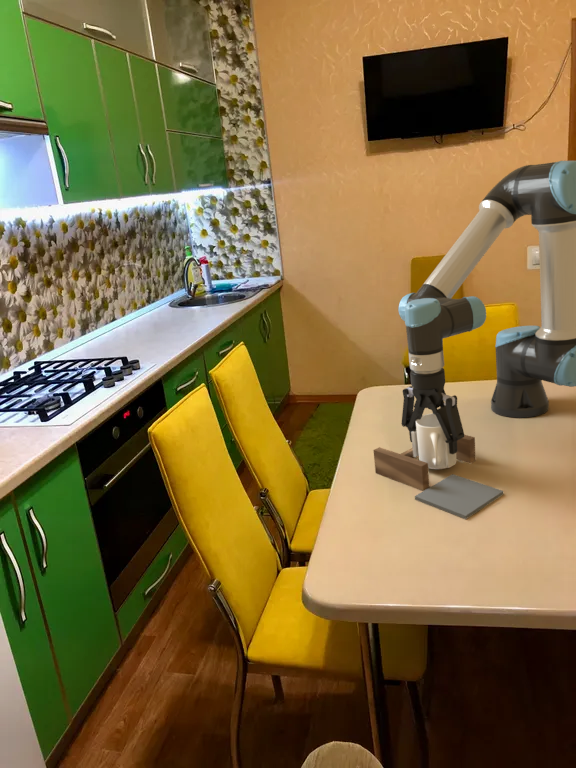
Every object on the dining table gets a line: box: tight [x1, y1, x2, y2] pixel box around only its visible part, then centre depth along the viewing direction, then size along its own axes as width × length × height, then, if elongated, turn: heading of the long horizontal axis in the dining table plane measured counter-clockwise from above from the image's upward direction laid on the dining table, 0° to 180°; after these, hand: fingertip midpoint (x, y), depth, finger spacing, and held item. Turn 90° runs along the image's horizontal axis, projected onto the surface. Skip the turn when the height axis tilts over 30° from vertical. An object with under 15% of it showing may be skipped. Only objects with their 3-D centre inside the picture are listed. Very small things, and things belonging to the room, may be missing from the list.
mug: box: [416, 412, 456, 470], centre depth 142 cm, size 9×12×11 cm
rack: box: [373, 434, 477, 492], centre depth 146 cm, size 19×14×6 cm
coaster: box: [414, 473, 504, 520], centre depth 131 cm, size 13×13×1 cm
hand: (434, 459), depth 144 cm, fingers closed on mug, 9 cm apart
